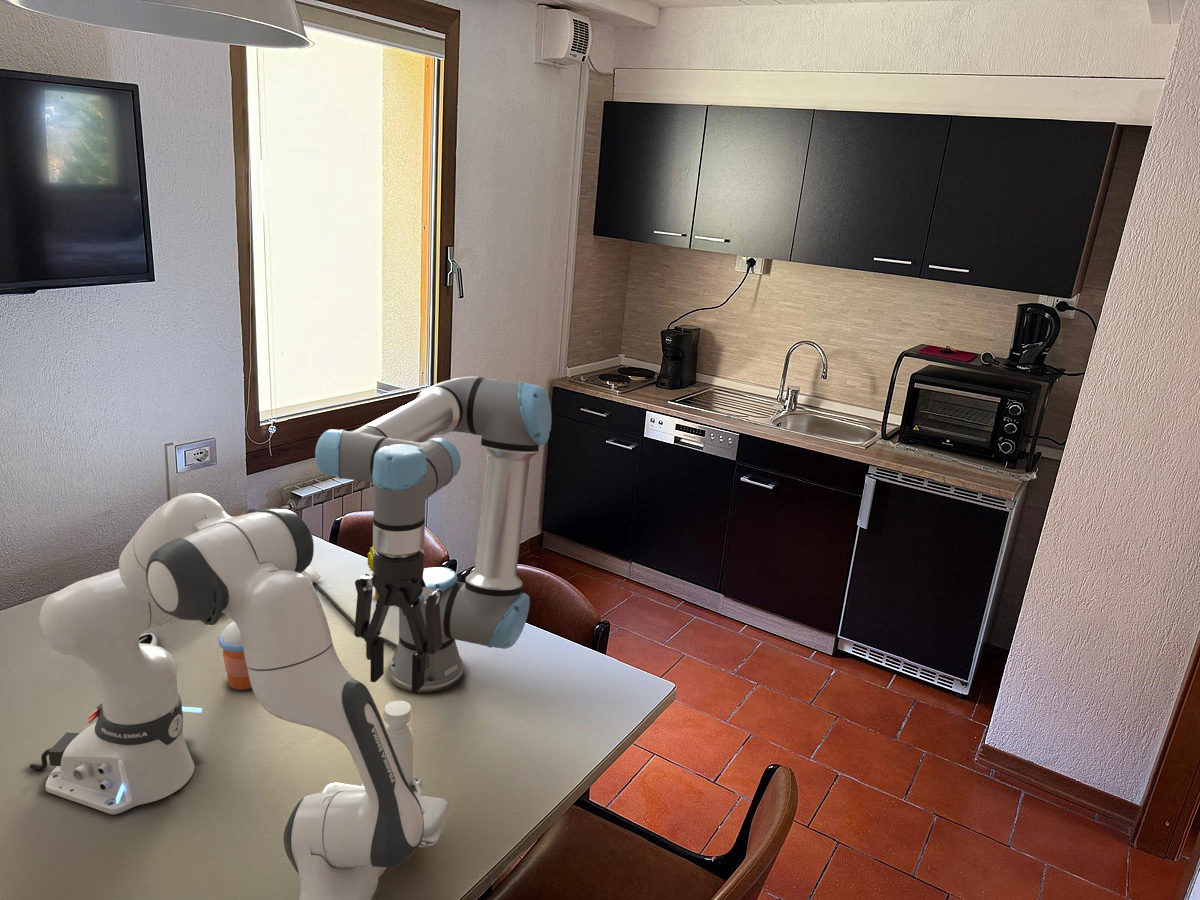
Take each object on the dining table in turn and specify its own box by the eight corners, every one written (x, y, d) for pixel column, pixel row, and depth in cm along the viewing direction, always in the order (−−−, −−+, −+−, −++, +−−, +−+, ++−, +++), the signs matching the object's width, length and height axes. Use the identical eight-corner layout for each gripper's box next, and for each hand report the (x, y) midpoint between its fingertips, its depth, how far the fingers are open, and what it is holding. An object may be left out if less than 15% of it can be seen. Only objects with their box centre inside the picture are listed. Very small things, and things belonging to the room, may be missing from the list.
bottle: (406, 800, 145) (407, 698, 139) (416, 819, 141) (418, 714, 135) (377, 809, 143) (377, 705, 137) (386, 829, 139) (387, 722, 133)
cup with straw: (252, 697, 169) (248, 616, 164) (211, 689, 171) (206, 608, 166) (278, 673, 178) (275, 596, 172) (238, 666, 179) (234, 588, 174)
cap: (406, 707, 139) (406, 698, 139) (414, 721, 136) (414, 711, 135) (380, 714, 137) (380, 704, 137) (389, 728, 134) (389, 718, 133)
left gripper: (435, 832, 126) (460, 772, 139) (302, 812, 128) (339, 754, 141) (434, 867, 128) (459, 804, 141) (303, 846, 130) (340, 786, 143)
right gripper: (469, 550, 129) (464, 684, 136) (355, 528, 134) (355, 658, 140) (447, 570, 122) (443, 709, 129) (327, 545, 127) (329, 681, 133)
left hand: (398, 779), depth 141 cm, fingers closed on bottle, 5 cm apart
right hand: (397, 682), depth 134 cm, fingers open, 6 cm apart
